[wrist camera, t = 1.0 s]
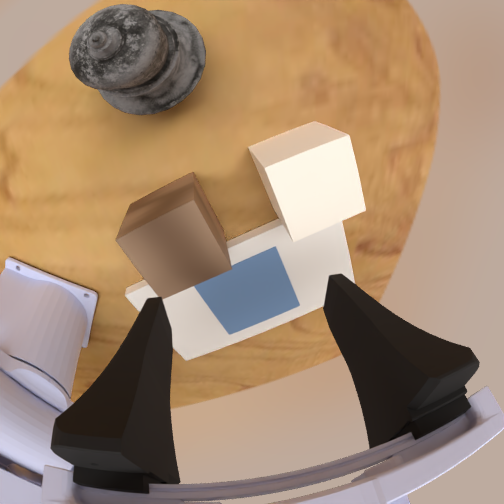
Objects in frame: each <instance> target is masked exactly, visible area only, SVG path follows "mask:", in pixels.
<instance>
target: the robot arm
mask: <svg viewBox="0 0 504 504" xmlns="http://www.w3.org/2000/svg"><path fill="white" fill-rule="evenodd" d="M18 266H19V267H20V268H19V267H18ZM85 293H86V294H88V295H86V294H85ZM97 299H98V294H97V293H96V292H95V291H92V290H90V289H87V288H84V287H81V286H79V285H76V284H73V283H71V282H68V281H66V280H63V279H61V278H58V277H55V276H53V275H50V274H48V273H46V272H43V271H41V270H38V269H36V268H34V267H31V266H29V265H27V264H24V263H22V262H20V261H17V260H15V259H13V258H10V257H8V258H7V259H6V261H5V269H4V270H3V272H2V273H1V275H0V504H221V503H220V502H184V501H212V500H225V499H236V498H244V497H252V496H259V495H265V494H271V493H276V492H282V491H287V490H292V489H296V488H301V487H305V486H309V485H313V484H317V483H321V482H324V481H328V480H331V479H334V478H338V477H341V476H344V475H347V474H350V473H353V472H356V471H359V470H362V469H365V468H367V467H370V466H373V465H375V464H378V463H380V462H382V463H380V464H378V465H376V466H373V467H371V468H369V469H367V470H365V471H364V473H363V474H361V475H360V476H358V477H356V478H355V479H353V480H352V481H351V482H352V483H349V484H345V485H342V486H339V487H335V488H332V489H328V490H325V491H321V492H317V493H313V494H309V495H305V496H301V497H297V498H293V499H289V500H284V501H279V502H274V503H269V504H410V501H409V499H408V496H407V494H409V493H411V492H413V491H414V490H416V489H418V488H420V487H422V486H424V485H425V484H427V483H429V482H431V481H432V480H434V479H435V478H437V477H439V476H441V475H442V474H444V473H445V472H447V471H449V470H450V469H452V468H453V467H455V466H456V465H458V464H459V463H460V462H462V461H463V460H465V459H466V458H468V457H469V456H470V455H472V454H473V453H474V452H476V451H477V450H478V449H480V448H481V447H482V446H484V445H485V444H486V443H487V442H489V441H490V440H491V439H492V438H494V437H495V436H496V435H497V434H498V433H500V432H501V431H502V430H503V429H504V414H503V412H502V410H501V408H500V406H499V405H498V403H497V402H496V400H495V398H494V396H493V394H492V393H491V391H490V389H489V388H488V386H485V387H484V388H482V389H481V390H479V391H477V392H476V393H474V394H473V395H471V396H470V397H469V398H468V399H467V398H466V396H465V394H466V393H467V389H466V388H465V386H464V385H465V384H466V383H467V382H468V381H469V380H470V378H471V377H472V376H473V375H474V374H475V372H476V371H477V369H478V367H479V361H478V359H477V358H476V356H475V355H474V353H473V352H472V350H471V349H470V348H468V347H465V346H461V345H458V344H455V343H452V342H449V341H446V340H444V339H441V338H439V337H436V336H434V335H432V334H429V333H427V332H425V331H423V330H421V329H419V328H417V327H415V326H414V325H412V324H410V323H408V322H407V321H405V320H403V319H402V318H400V317H398V316H397V315H395V314H394V313H392V312H391V311H389V310H388V309H386V308H385V307H384V306H382V305H381V304H380V303H378V302H377V301H376V300H374V299H373V298H372V297H371V296H369V295H368V294H367V293H366V292H364V291H363V290H362V289H361V288H359V287H358V286H357V285H356V284H354V283H353V282H352V281H351V280H349V279H348V278H347V277H346V276H344V275H343V274H342V273H340V274H334V275H329V278H328V284H327V290H326V296H325V301H324V307H323V309H324V313H325V316H326V319H327V322H328V325H329V328H330V330H331V332H332V334H333V336H334V338H335V340H336V342H337V345H338V347H339V349H340V351H341V353H342V355H343V357H344V359H345V361H346V363H347V365H348V367H349V370H350V372H351V375H352V378H353V381H354V384H355V387H356V391H357V394H358V397H359V401H360V404H361V408H362V412H363V416H364V421H365V425H366V430H367V435H368V441H369V447H370V449H369V450H366V451H363V452H360V453H357V454H354V455H351V456H348V457H345V458H342V459H338V460H335V461H332V462H329V463H325V464H321V465H317V466H313V467H309V468H306V469H302V470H297V471H293V472H287V473H282V474H278V475H272V476H267V477H260V478H254V479H246V480H238V481H228V482H219V483H218V482H217V483H203V484H179V483H180V478H179V472H178V467H177V461H176V455H175V449H174V441H173V433H172V424H171V411H170V384H171V369H172V354H173V343H172V328H171V325H170V322H169V319H168V316H167V313H166V309H165V306H164V303H163V300H162V297H153V298H147V300H146V301H145V303H144V305H143V307H142V309H141V311H140V313H139V315H138V317H137V319H136V321H135V322H134V324H133V326H132V328H131V330H130V331H129V333H128V335H127V337H126V338H125V340H124V342H123V343H122V345H121V346H120V348H119V350H118V351H117V353H116V354H115V356H114V357H113V359H112V360H111V361H110V363H109V364H108V366H107V367H106V368H105V370H104V371H103V372H102V373H101V375H100V376H99V377H98V378H97V379H96V381H95V382H94V383H93V384H92V385H91V386H90V388H89V389H88V390H87V391H86V392H85V393H84V394H83V395H82V396H81V397H80V398H79V399H78V400H77V401H76V402H75V403H73V402H72V401H71V400H70V398H71V392H72V387H73V382H74V377H75V372H76V368H77V363H78V359H79V355H80V351H81V347H83V348H86V347H87V346H88V341H89V336H90V331H91V326H92V321H93V316H94V312H95V307H96V303H97ZM385 460H386V461H385ZM383 461H384V462H383Z"/></svg>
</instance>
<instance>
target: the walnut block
mask: <svg viewBox="0 0 504 504" xmlns="http://www.w3.org/2000/svg"><path fill="white" fill-rule="evenodd" d="M116 242H117V243H118V244H119V246H120V247H121V249H122V250H123V251H124V253H125V254H126V255H127V257H128V258H129V259H130V261H131V262H132V263H133V265H134V266H135V267H136V269H137V270H138V271H139V273H140V274H141V275H142V277H143V278H144V279H145V280H146V282H147V283H148V284H149V286H150V287H151V288H152V289H153V291H154V292H155V293H156V294H157V296H158V297H162V300H163V299H165V298H167V297H170V296H172V295H174V294H177V293H179V292H181V291H184V290H186V289H188V288H190V287H193V286H195V285H197V284H200V283H202V282H204V281H207V280H209V279H211V278H213V277H216V276H218V275H220V274H223V273H225V272H227V271H229V270H232V266H231V261H230V257H229V252H228V248H227V244H226V239H225V235H224V230H223V228H222V226H221V224H220V222H219V220H218V219H217V217H216V215H215V213H214V211H213V209H212V207H211V205H210V203H209V201H208V199H207V197H206V196H205V194H204V192H203V190H202V188H201V186H200V184H199V182H198V180H197V178H196V176H195V174H194V172H191V173H189V174H187V175H185V176H183V177H181V178H179V179H177V180H175V181H173V182H171V183H169V184H167V185H166V186H164V187H162V188H160V189H158V190H156V191H154V192H152V193H150V194H148V195H147V196H145V197H143V198H141V199H139V200H137V201H136V202H134V203H132V204H130V206H129V209H128V211H127V213H126V216H125V218H124V220H123V223H122V225H121V228H120V230H119V233H118V235H117V238H116Z"/></svg>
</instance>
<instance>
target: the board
mask: <svg viewBox="0 0 504 504" xmlns="http://www.w3.org/2000/svg"><path fill="white" fill-rule="evenodd" d="M226 244H227V248H228V252H229V257H230V261H231V266H232V270H229V271H227V272H225V273H223V274H220V275H218V276H216V277H213V278H211V279H209V280H207V281H204V282H202V283H200V284H197V285H195V286H193V287H190V288H188V289H186V290H184V291H181V292H179V293H177V294H174V295H172V296H170V297H167V298H165V299H163V303H164V306H165V309H166V313H167V316H168V319H169V322H170V325H171V328H172V343H173V348H174V349H175V350H176V351H177V352H178V353H179V354H180V355H181V356H182V357H183V358H184V359H185V360H186V361H187V360H190V359H193V358H196V357H199V356H202V355H204V354H207V353H210V352H213V351H215V350H218V349H221V348H223V347H226V346H229V345H231V344H234V343H237V342H239V341H242V340H244V339H247V338H249V337H252V336H255V335H257V334H260V333H262V332H264V331H267V330H269V329H272V328H274V327H277V326H279V325H281V324H284V323H286V322H288V321H291V320H293V319H295V318H298V317H300V316H302V315H304V314H307V313H309V312H311V311H313V310H316V309H318V308H320V307H322V306H324V301H325V296H326V290H327V284H328V278H329V275H334V274H340V273H342V274H343V275H344V276H346V277H347V278H348V279H349V280H351V281H352V282H353V283H354V284H355V281H354V275H353V270H352V265H351V260H350V255H349V250H348V246H347V241H346V237H345V232H344V228H343V223H342V221H341V222H339V223H336V224H334V225H332V226H330V227H327V228H325V229H323V230H321V231H318V232H316V233H314V234H312V235H309V236H307V237H305V238H303V239H300V240H298V241H296V242H294V243H293V241H292V239H291V238H290V236H289V234H288V233H287V231H286V229H285V227H284V226H283V224H282V222H281V221H280V219H279V218H278V219H276V220H274V221H271V222H269V223H267V224H265V225H262V226H260V227H258V228H256V229H253V230H251V231H249V232H247V233H244V234H242V235H240V236H238V237H235V238H233V239H231V240H229V241H227V242H226ZM125 296H126V297H127V299H128V300H129V301H130V302H131V303H132V304H133V305H134V307H135V308H136V309H137V310H138V311H139V312H140V311H141V309H142V307H143V305H144V303H145V301H146V300H147V298H153V297H158V296H157V294H156V293H155V292H154V291H153V289H152V288H151V287H150V286H149V284H148V283H147V282H146V280H145V279H144V280H142V281H140V282H138V283H135V284H133V285H131V286H129V287H127V288H126V293H125Z"/></svg>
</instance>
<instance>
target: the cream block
mask: <svg viewBox="0 0 504 504" xmlns="http://www.w3.org/2000/svg"><path fill="white" fill-rule="evenodd" d="M248 149H249V151H250V154H251V156H252V158H253V161H254V163H255V165H256V168H257V170H258V173H259V175H260V177H261V180H262V182H263V185H264V187H265V190H266V192H267V194H268V197H269V199H270V202H271V204H272V207H273V209H274V211H275V212H276V214H277V216H278V217H279V219H280V221H281V222H282V224H283V226H284V227H285V229H286V231H287V233H288V234H289V236H290V238H291V239H292V241H293V243H294V242H296V241H298V240H300V239H303V238H305V237H307V236H309V235H312V234H314V233H316V232H318V231H321V230H323V229H325V228H327V227H330V226H332V225H334V224H336V223H339V222H341V221H343V220H345V219H348V218H350V217H352V216H354V215H356V214H359V213H361V212H363V211H365V210H366V209H365V203H364V198H363V193H362V188H361V183H360V179H359V174H358V169H357V165H356V161H355V156H354V152H353V148H352V144H351V140H350V136H349V135H348V134H346V133H343V132H341V131H339V130H336V129H334V128H331V127H329V126H327V125H324V124H322V123H319V122H316V121H313V122H311V123H308V124H305V125H302V126H300V127H297V128H294V129H292V130H289V131H286V132H284V133H281V134H279V135H276V136H274V137H271V138H269V139H266V140H264V141H261V142H259V143H257V144H254V145H252V146H249V147H248Z"/></svg>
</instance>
